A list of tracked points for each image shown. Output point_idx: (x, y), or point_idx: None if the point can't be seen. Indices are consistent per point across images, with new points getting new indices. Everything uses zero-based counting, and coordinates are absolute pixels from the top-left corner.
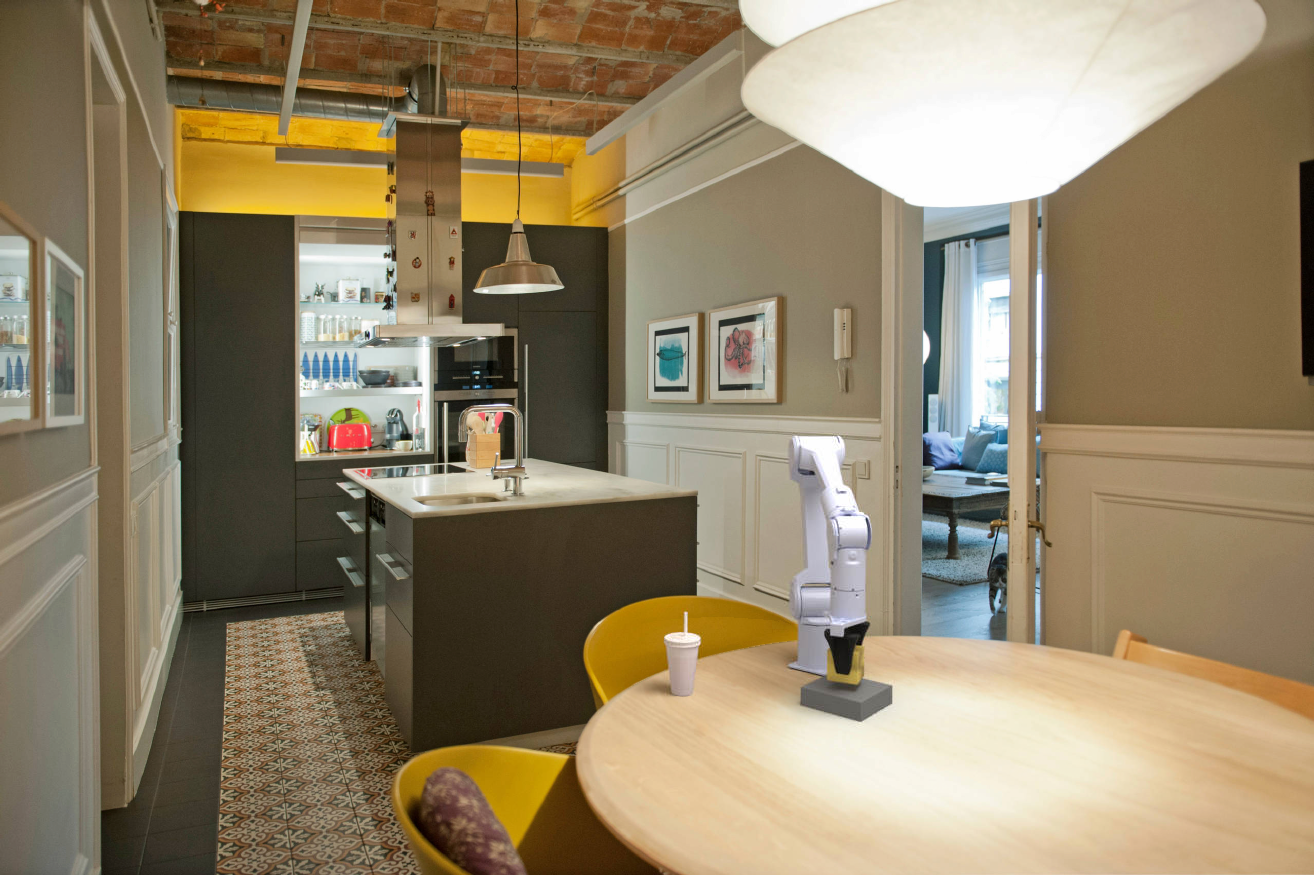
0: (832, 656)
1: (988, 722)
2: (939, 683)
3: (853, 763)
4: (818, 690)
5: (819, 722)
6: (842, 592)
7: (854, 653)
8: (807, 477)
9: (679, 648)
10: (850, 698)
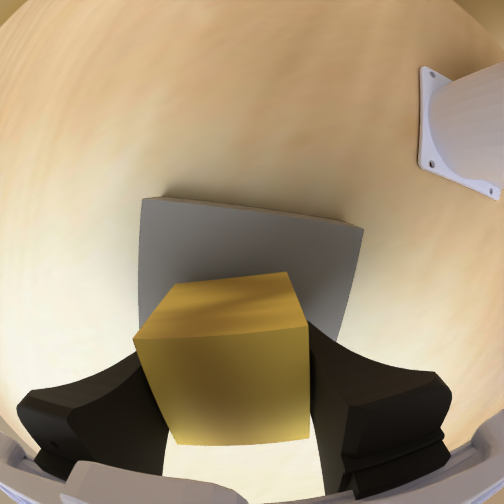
0: (122, 360)
1: (291, 472)
2: (447, 379)
3: (33, 366)
4: (147, 260)
5: (97, 282)
6: None
7: (176, 437)
8: None
9: None
10: None
